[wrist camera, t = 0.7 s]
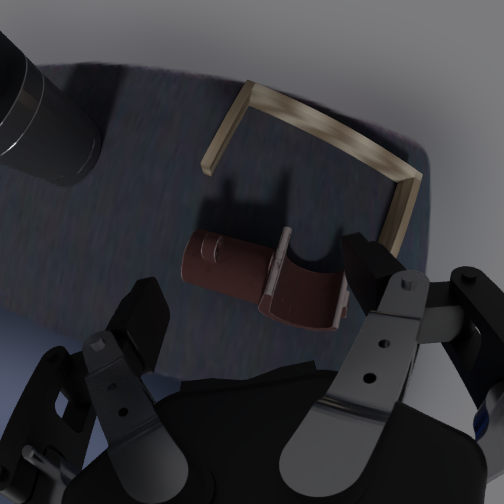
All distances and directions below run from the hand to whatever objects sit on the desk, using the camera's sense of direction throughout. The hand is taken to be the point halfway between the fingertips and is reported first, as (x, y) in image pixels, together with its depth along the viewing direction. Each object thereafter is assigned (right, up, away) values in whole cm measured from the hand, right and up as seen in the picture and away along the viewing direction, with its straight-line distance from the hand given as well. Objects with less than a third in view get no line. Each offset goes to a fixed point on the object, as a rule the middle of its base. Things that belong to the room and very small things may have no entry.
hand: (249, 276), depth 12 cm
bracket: (+2, -1, +21) cm, 21 cm away
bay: (+7, +9, +21) cm, 24 cm away
